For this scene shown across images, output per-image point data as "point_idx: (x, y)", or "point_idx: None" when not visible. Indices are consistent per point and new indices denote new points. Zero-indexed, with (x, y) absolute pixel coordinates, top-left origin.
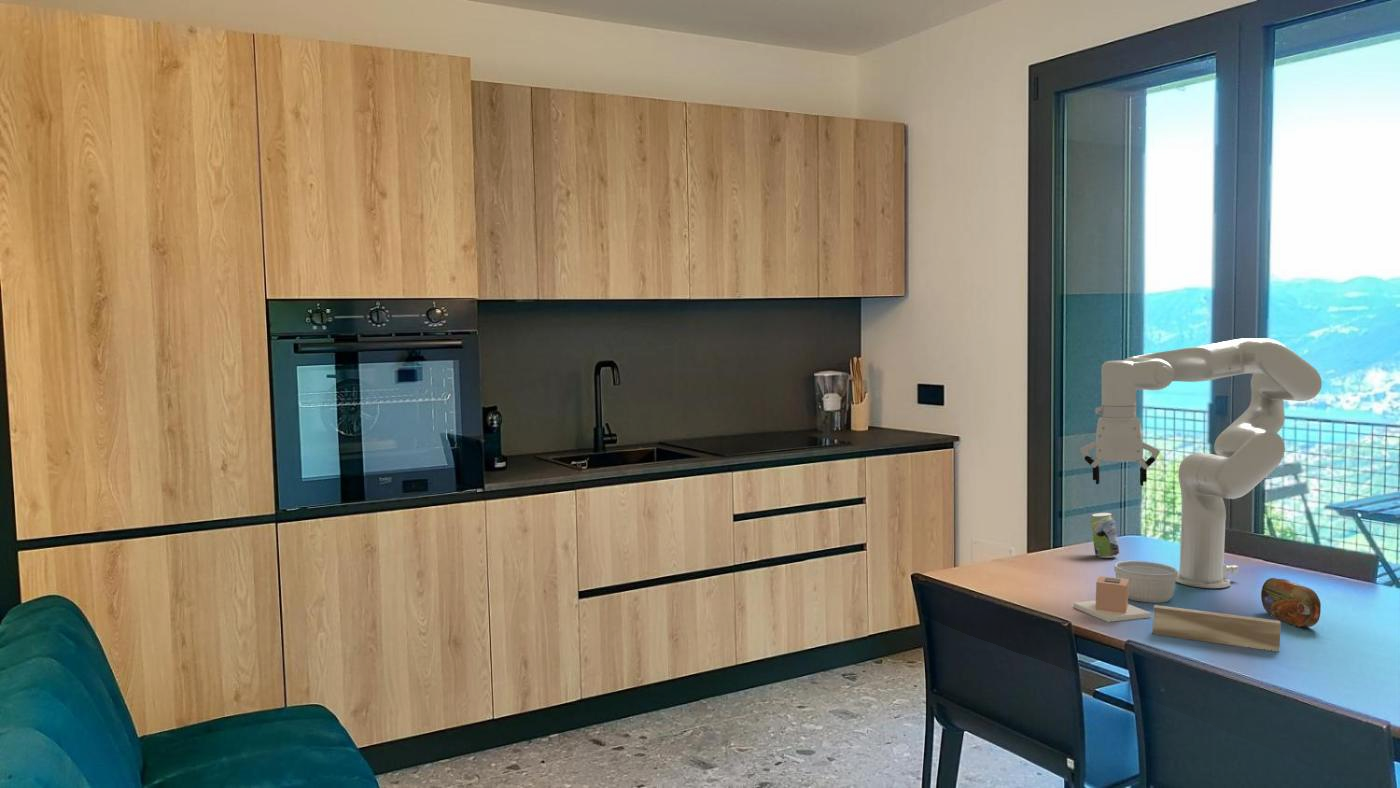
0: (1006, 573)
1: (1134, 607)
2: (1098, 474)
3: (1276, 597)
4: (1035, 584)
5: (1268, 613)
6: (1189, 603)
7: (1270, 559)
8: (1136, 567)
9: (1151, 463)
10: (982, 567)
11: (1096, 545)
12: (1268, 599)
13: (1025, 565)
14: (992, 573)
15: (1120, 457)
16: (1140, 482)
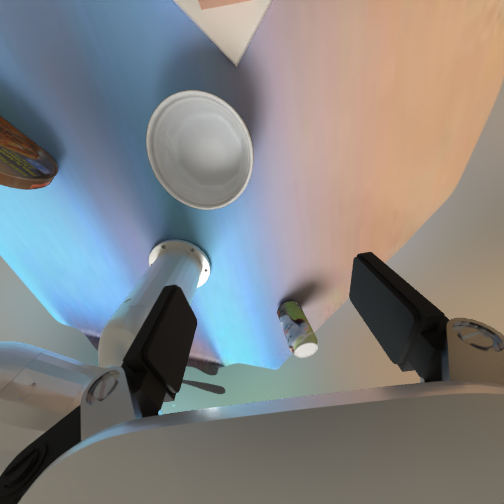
0: (413, 167)
1: (188, 5)
2: (387, 285)
3: (10, 154)
4: (371, 121)
5: (50, 156)
6: None
7: None
8: (227, 196)
9: (57, 426)
10: (447, 183)
11: (301, 310)
12: (38, 166)
13: (379, 229)
14: (437, 153)
15: (272, 463)
16: (172, 293)
